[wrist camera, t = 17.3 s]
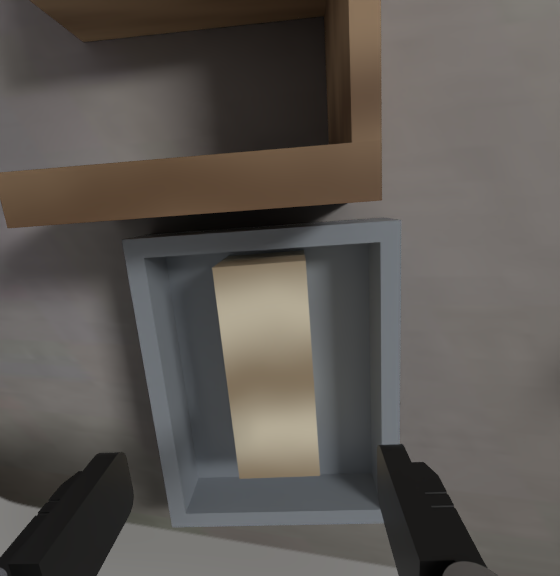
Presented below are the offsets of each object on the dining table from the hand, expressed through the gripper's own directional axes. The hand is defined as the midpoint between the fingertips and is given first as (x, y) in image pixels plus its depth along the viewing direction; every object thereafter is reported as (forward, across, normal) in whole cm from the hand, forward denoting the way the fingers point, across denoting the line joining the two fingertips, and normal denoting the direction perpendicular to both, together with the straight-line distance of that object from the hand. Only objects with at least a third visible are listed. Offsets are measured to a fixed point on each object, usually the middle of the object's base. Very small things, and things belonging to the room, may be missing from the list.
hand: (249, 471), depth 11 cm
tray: (+12, 0, +2) cm, 12 cm away
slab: (+11, 0, 0) cm, 11 cm away
